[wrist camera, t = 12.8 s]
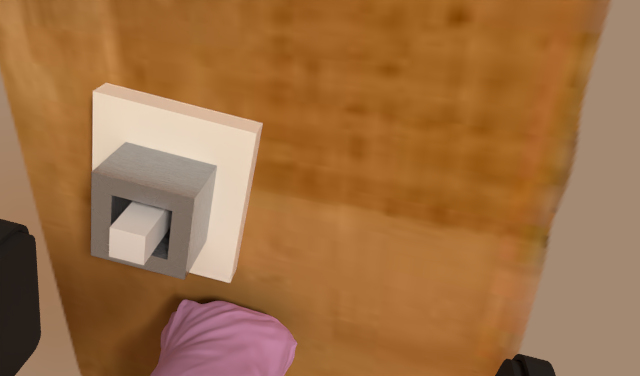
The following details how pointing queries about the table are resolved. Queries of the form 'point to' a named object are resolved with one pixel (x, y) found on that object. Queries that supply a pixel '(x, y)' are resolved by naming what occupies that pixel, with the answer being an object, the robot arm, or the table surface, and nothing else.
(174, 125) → the post plinth
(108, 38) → the table surface
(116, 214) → the collar
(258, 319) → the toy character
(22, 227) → the robot arm
